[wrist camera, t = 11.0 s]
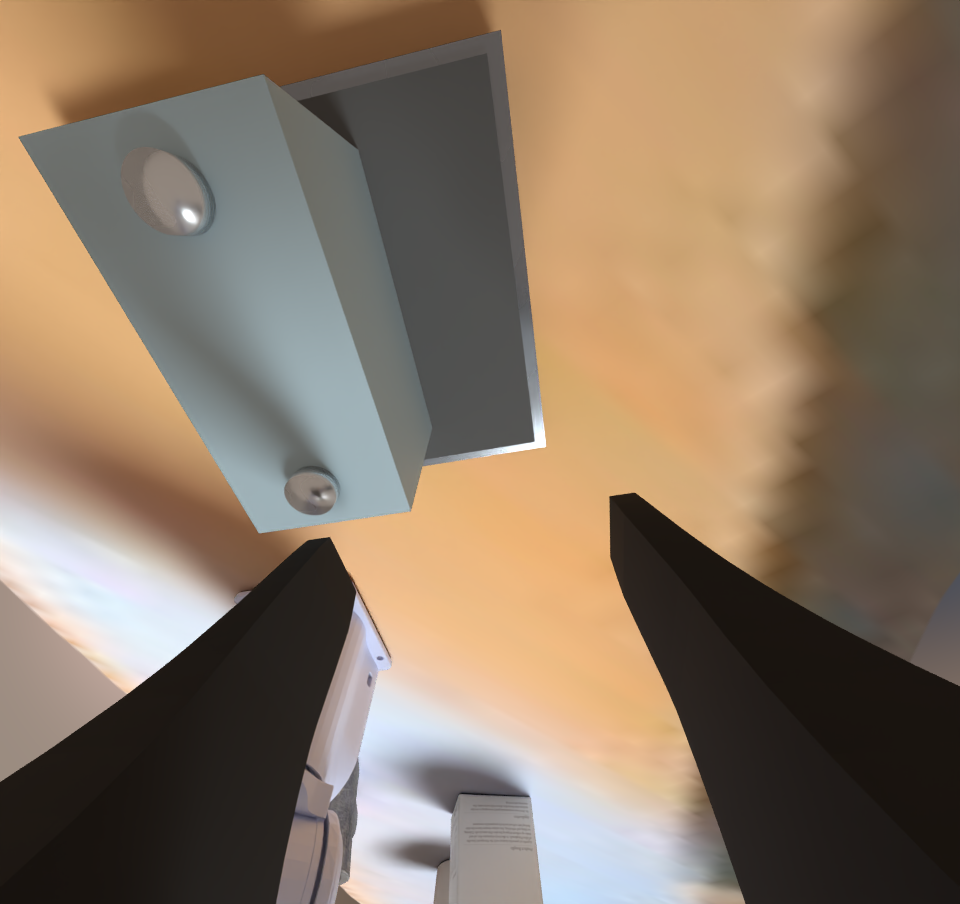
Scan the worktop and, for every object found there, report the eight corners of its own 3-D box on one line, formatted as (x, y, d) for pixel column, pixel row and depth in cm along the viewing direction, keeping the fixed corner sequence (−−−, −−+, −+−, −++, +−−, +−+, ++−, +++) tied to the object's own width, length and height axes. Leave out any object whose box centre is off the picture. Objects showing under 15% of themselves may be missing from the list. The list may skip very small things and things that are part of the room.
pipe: (323, 796, 40) (290, 912, 33) (302, 737, 34) (256, 863, 27) (380, 797, 40) (359, 912, 33) (368, 738, 34) (340, 864, 27)
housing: (432, 427, 17) (408, 521, 11) (326, 445, 17) (250, 544, 11) (358, 150, 12) (248, 61, 6) (214, 183, 12) (-13, 129, 7)
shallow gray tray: (540, 431, 19) (547, 449, 17) (266, 475, 20) (246, 497, 19) (498, 56, 12) (501, 24, 11) (93, 157, 14) (35, 144, 12)
